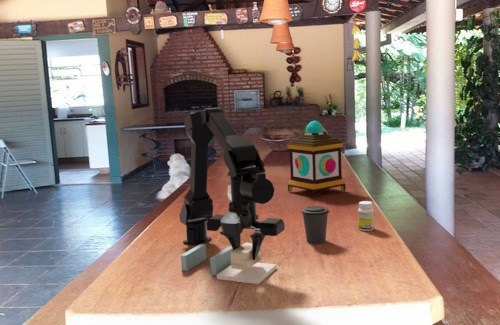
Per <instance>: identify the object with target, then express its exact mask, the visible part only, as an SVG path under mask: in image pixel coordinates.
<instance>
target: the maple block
mask: <svg viewBox="0 0 500 325" xmlns="http://www.w3.org/2000/svg"><path fill="white" fill-rule="evenodd" d="M261 252H262V251H261V249H260V250H259V252H258V255H257V258H256V260H253V256H252V243H251V242H244V243H243V244H242V245H241V246H240V247H238V248H237V249H235V250H233V251H232V252H231V268H232V269H240V270H247V269H249V268H250V267H251V266H253V265H254V264H256V263H259V261H261V260H262V254H261Z"/></svg>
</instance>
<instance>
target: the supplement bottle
mask: <svg viewBox="0 0 500 325" xmlns="http://www.w3.org/2000/svg"><path fill="white" fill-rule="evenodd" d="M358 207H359V208H358V209H357V214H358V216H357V223H358V229H359V231H363V232H370V231H373V230H374V229H375V210H374V208H373V202H372V201H368V200H362V201H359V202H358Z"/></svg>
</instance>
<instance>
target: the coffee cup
mask: <svg viewBox="0 0 500 325" xmlns="http://www.w3.org/2000/svg"><path fill="white" fill-rule="evenodd" d="M300 213H301V214H302V217H303V224H304V231H305V238H306V242H307V243H308V244H312V245H319V244H324V243H325V242H326V240H327V239H326V238H327V225H328V214H329V213H330V210H329V209H328V208H327V207H323V206H317V205H316V206H314V205H313V206H306V207H305V208H302V209H301V211H300Z"/></svg>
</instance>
